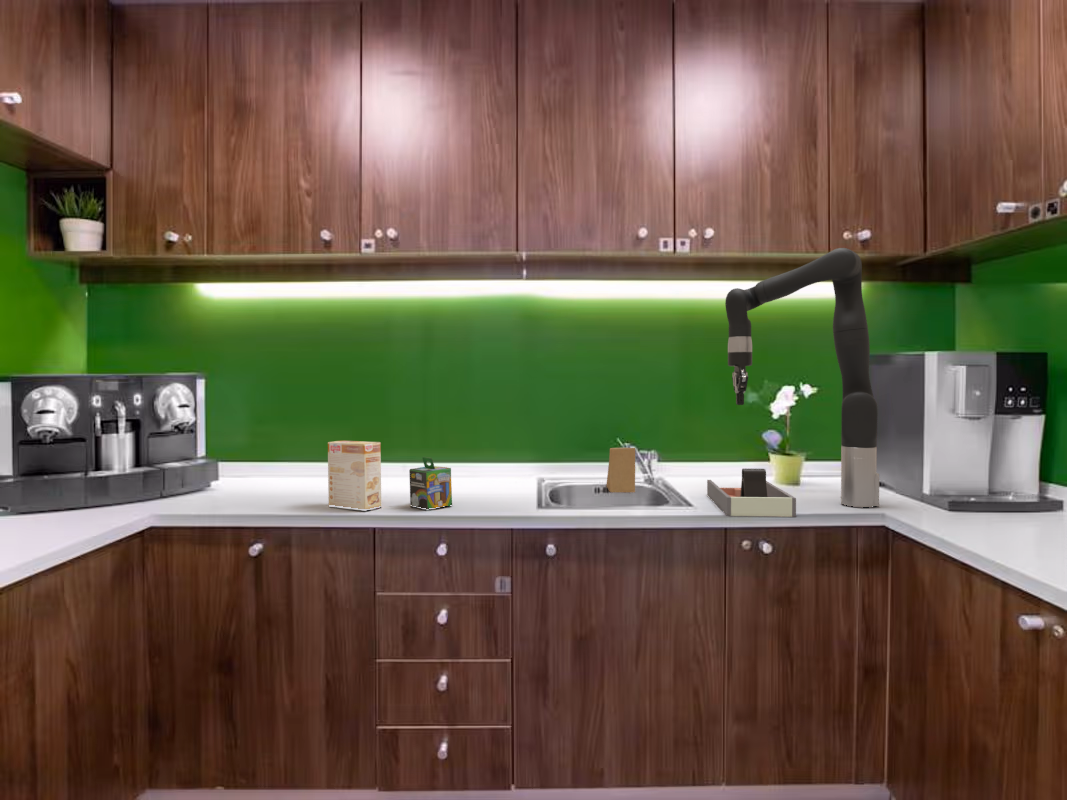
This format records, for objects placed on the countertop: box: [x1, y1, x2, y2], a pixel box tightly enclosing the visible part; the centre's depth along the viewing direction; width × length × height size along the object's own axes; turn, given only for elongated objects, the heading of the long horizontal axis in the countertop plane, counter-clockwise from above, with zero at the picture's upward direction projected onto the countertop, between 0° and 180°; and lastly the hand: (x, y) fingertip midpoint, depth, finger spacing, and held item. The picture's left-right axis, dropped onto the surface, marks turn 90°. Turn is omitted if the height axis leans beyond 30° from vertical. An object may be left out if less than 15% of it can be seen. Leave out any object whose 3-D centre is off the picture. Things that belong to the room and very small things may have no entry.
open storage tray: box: [706, 479, 797, 518], centre depth 190 cm, size 18×32×5 cm, turn 174°
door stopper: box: [740, 468, 767, 497], centre depth 181 cm, size 9×6×12 cm, turn 174°
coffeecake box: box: [327, 440, 382, 509], centre depth 189 cm, size 15×7×20 cm, turn 59°
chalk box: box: [409, 456, 453, 509], centre depth 190 cm, size 9×9×15 cm
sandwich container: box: [606, 447, 636, 493], centre depth 221 cm, size 9×15×15 cm, turn 179°
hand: (740, 404), depth 209 cm, fingers closed
